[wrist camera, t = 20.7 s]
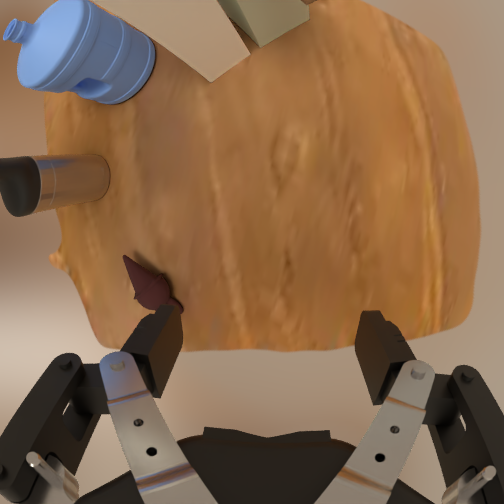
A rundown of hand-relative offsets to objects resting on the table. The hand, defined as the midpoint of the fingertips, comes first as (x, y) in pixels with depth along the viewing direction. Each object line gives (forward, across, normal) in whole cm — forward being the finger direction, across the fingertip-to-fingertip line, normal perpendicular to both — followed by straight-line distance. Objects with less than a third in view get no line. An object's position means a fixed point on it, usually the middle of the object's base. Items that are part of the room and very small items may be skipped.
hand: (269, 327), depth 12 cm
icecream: (+35, +20, +16) cm, 44 cm away
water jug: (+40, +28, -26) cm, 55 cm away
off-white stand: (+37, +10, -25) cm, 46 cm away
